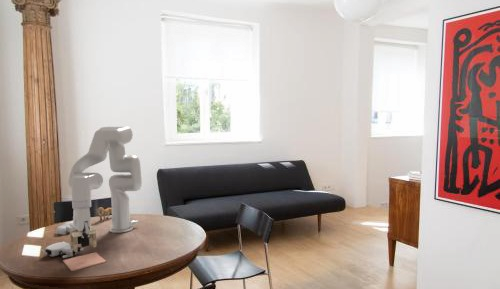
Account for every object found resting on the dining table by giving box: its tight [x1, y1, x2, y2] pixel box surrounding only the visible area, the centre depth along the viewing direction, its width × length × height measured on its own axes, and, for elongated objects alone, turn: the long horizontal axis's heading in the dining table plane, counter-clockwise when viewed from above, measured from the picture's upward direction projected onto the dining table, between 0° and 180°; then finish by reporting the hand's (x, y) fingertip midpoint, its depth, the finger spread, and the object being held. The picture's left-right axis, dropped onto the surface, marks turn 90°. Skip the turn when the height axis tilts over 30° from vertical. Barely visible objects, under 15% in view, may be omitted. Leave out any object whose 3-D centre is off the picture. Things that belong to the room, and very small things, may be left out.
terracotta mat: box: [62, 252, 107, 272], centre depth 161 cm, size 14×14×1 cm
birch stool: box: [69, 225, 97, 253], centre depth 160 cm, size 6×9×8 cm, turn 130°
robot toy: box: [40, 240, 85, 259], centre depth 169 cm, size 12×4×15 cm
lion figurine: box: [96, 207, 112, 222], centre depth 229 cm, size 15×5×9 cm, turn 167°
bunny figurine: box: [55, 220, 74, 236], centre depth 205 cm, size 10×5×15 cm
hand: (83, 244), depth 160 cm, fingers closed on birch stool, 4 cm apart
